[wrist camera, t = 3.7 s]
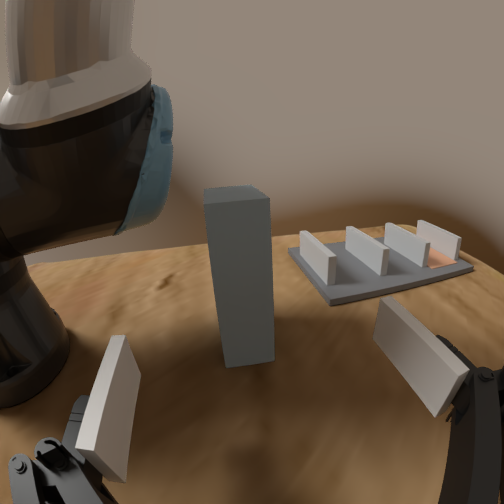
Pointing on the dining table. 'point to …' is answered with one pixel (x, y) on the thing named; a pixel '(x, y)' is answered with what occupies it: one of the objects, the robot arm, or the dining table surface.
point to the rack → (379, 261)
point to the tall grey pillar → (242, 272)
